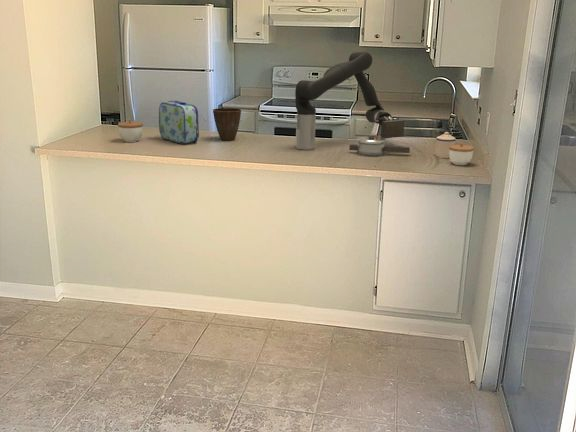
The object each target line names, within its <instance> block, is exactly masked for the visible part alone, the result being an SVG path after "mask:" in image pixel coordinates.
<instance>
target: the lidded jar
mask: <svg viewBox="0 0 576 432" xmlns="http://www.w3.org/2000/svg"><path fill="white" fill-rule="evenodd" d="M473 154H474V147H473V146H471V145H465V144H463V142H461V143H460V144H455V145H451V146H449V158H448V159H449V160H450V162H452V164H453V165H455V166H467V164H469V163H470V161H471V160H472V158H473Z"/></svg>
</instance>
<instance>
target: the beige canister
mask: <svg viewBox="0 0 576 432" xmlns="http://www.w3.org/2000/svg"><path fill="white" fill-rule="evenodd" d="M435 139H436V140H435V141H436V144H435V152H434V156H435V157H436V158H441V159H450V158H449V146H451V145H456V140H457V139H456V137H454V136H452V135H451V134H450V133H449V132H448V131H445V132H444V133H443V134H440V135H439V136H437V137H435Z"/></svg>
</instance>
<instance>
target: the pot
mask: <svg viewBox="0 0 576 432" xmlns="http://www.w3.org/2000/svg"><path fill="white" fill-rule="evenodd" d="M356 142H357V143H350V144H349V149H348V150H349V151H356V154H357V155H359V156H362V155H363V157H382V156H384V155H385V153H400V154H401V153H402V154H410V152H411V151H410V149H411V148H410V146H398V145H386V142H385V143H381V144H366V143H360V142H358V141H356Z"/></svg>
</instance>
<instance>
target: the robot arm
mask: <svg viewBox="0 0 576 432" xmlns="http://www.w3.org/2000/svg"><path fill="white" fill-rule="evenodd" d="M372 64H373V56H372V54H371V53H369V52H367V51H359V52H357V51H355V52H352V53H351V54H350V55H349V57H348V61H345V62H341V63H338V64H335V65H333V66H331V67H329V68H328V69H326V71H325V72H324V73H323V77H320V78H319V79H317V80H306V79H305V80H304V79H302V80H299V81H298V83H297V84H296V86H295V90H294V91H295V93H294V95H295V96H294V97H295V108H296V129H295V148H296V150H302V151H304V150H305V151H307V150H314V149H315V146H316V143H315V142H316V119H317V116H316V114H317V111H316V110H317V109H316V108H315V106H313V105H312V104H311V103H310V101H314V100H317V99H318V98H320V97H321V96H322V95H323V94H325V93H326V92H327V91H329V90H331V89H333V88H335V87H337V86H339V85H340V84H342V83H344V82H345V81H346V80H348V79H350V78H352V77H353V76H354V78H355V80H356V81H357V84H358V86H359V88H360V91H361V94H362V96H363V100H364V103H365V105H366V106H367V107H372V108H369V109H368V110H367V111H366V112H365V118H366V120H367V121H368V122H369V123H373V124H374V123H375V124H378V125H379V126H381V123H382V121H390V120H400V118H399V117H398V118H395V117H392V115H391V114H390V113H389V112H387V111H385V109H384V107H383V106H382V104H381V103H380V102H379V101H380V100H379V98H378V95H377V93H376V90H375V87H374V86H373V84H372V83H371V81H370V80H369V79H368V78H367V76H366V75H365V73H364V71H366V70H368V69H369V68H370V67H371V66H372ZM373 106H374V107H373Z"/></svg>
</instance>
